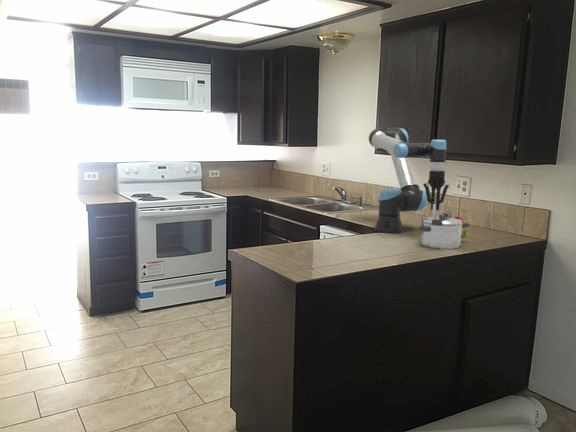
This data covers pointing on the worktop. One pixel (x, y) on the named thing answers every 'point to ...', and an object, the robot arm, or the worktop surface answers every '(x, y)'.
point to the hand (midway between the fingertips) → (434, 216)
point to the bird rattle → (462, 222)
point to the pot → (441, 235)
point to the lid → (442, 219)
